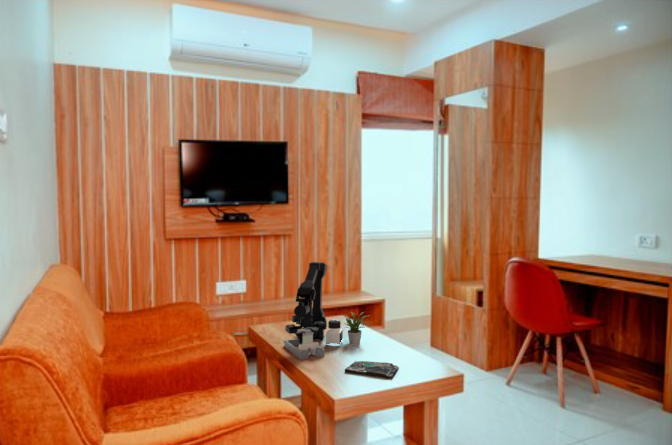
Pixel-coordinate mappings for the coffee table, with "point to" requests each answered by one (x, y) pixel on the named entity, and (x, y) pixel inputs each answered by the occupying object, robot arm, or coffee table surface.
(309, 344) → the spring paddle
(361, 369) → the terrain model
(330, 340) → the medicine bottle
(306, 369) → the coffee table surface
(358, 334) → the house plant
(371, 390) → the coffee table surface
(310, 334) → the sage jar
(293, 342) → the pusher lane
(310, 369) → the coffee table surface
